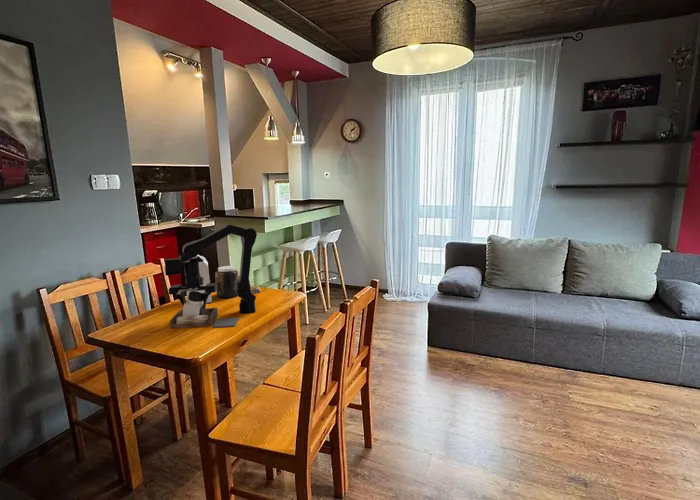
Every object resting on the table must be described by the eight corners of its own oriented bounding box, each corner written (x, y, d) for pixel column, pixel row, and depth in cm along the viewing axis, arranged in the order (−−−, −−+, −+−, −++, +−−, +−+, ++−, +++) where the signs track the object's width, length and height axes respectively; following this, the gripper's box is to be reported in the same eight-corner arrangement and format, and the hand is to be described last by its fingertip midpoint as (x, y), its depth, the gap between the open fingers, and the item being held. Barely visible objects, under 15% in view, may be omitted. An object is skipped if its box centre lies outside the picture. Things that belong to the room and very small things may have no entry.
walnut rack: (218, 315, 168) (217, 307, 167) (211, 325, 155) (210, 317, 154) (180, 317, 166) (180, 309, 165) (170, 328, 153) (170, 320, 152)
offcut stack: (208, 323, 159) (208, 314, 158) (207, 325, 156) (207, 316, 156) (178, 325, 157) (177, 316, 156) (176, 327, 154) (175, 318, 154)
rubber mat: (238, 318, 163) (238, 317, 163) (235, 326, 154) (235, 325, 154) (217, 320, 162) (217, 318, 162) (212, 327, 153) (212, 326, 153)
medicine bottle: (198, 322, 158) (201, 295, 157) (181, 319, 158) (184, 293, 156) (204, 317, 166) (207, 291, 164) (188, 314, 165) (191, 288, 163)
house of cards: (263, 288, 211) (262, 275, 210) (263, 293, 203) (262, 279, 201) (247, 289, 209) (246, 276, 208) (246, 294, 201) (245, 280, 199)
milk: (187, 298, 194) (183, 249, 189) (211, 295, 198) (207, 247, 193) (187, 305, 183) (182, 253, 178) (212, 302, 187) (208, 251, 182)
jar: (226, 299, 191) (224, 270, 188) (212, 296, 197) (209, 268, 195) (244, 293, 201) (242, 266, 198) (230, 290, 207) (228, 264, 204)
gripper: (218, 267, 167) (221, 301, 170) (175, 269, 165) (178, 303, 168) (213, 273, 156) (216, 309, 159) (166, 275, 154) (170, 311, 157)
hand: (195, 307), depth 161 cm, fingers closed on medicine bottle, 7 cm apart
